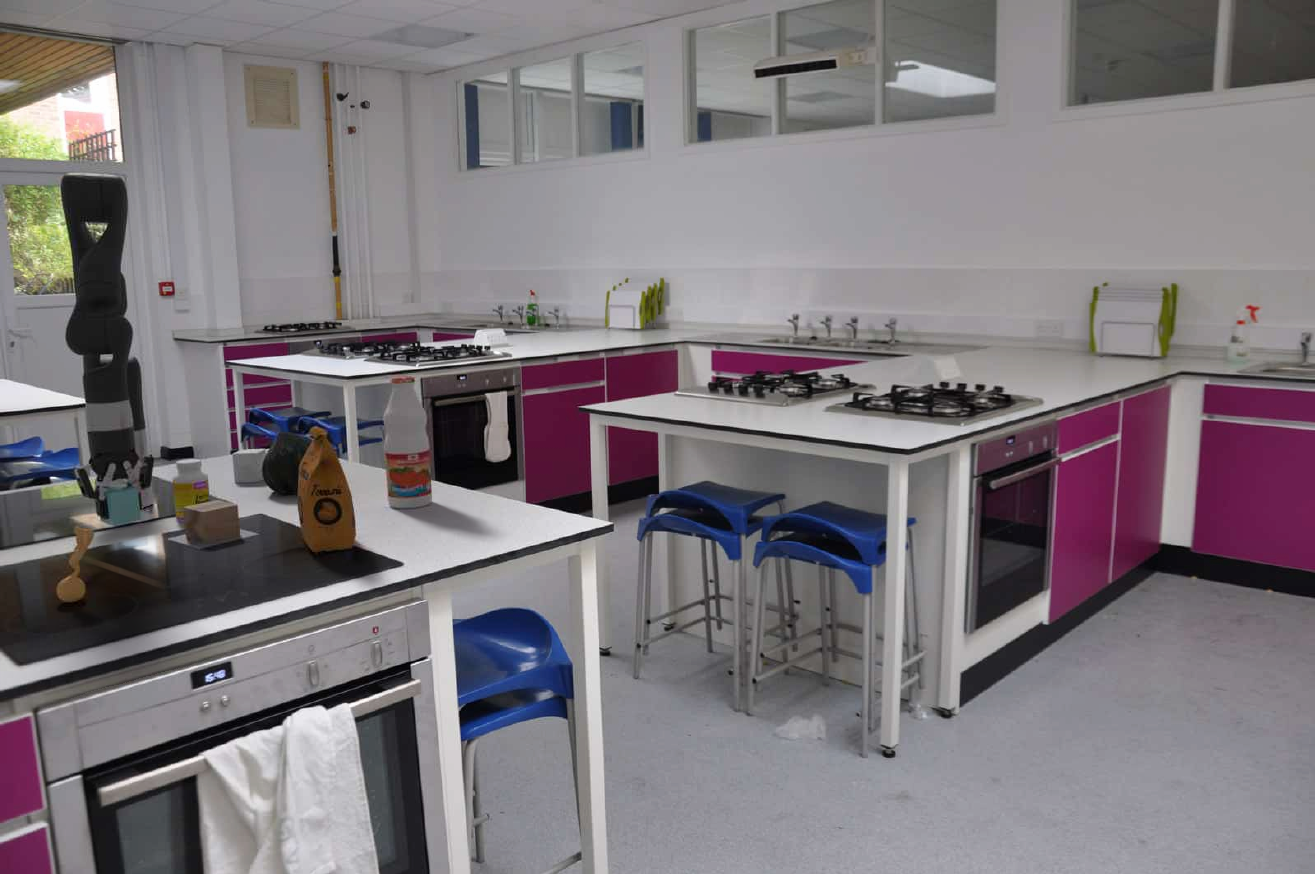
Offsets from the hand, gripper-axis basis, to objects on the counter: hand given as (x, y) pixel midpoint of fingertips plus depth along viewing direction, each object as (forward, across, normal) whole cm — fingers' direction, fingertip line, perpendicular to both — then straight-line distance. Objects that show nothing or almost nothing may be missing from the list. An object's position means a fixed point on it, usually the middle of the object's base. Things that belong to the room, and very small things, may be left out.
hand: (120, 515), depth 188 cm
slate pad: (+7, -13, +8) cm, 17 cm away
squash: (+8, -48, -17) cm, 51 cm away
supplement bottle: (+7, -19, -10) cm, 22 cm away
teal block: (+1, 0, 0) cm, 1 cm away
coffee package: (+7, -24, +30) cm, 39 cm away
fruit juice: (+7, -54, +16) cm, 57 cm away
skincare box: (+8, -49, -38) cm, 62 cm away
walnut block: (+6, -13, +8) cm, 16 cm away
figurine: (+6, +18, +24) cm, 30 cm away
